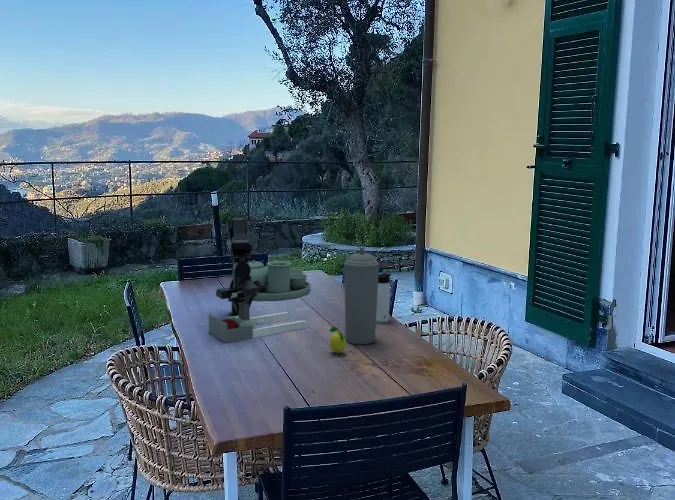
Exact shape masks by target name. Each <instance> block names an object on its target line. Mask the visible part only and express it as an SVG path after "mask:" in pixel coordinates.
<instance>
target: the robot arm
mask: <svg viewBox="0 0 675 500" xmlns="http://www.w3.org/2000/svg"><path fill="white" fill-rule="evenodd" d="M248 232H249V221H248V220H246V219H245V217H243V216H238V217H235V216H234V217H232V218H231V219H230V220H227V222H226V233H228V237H229V239H230V241H231V242H230V244H229V245H230V260H232V274H231V276H232V277H233V278H232V280H231V279H230V282H229V283H230V287H229V286H228V287H221V288H217V289H216V291H215V296H216V297H217V298H218V299H221V300H226V299H227V300H228V303H230V304H231V305H230V306H231V311H229V312H228V314H229V315H231V317H233V316H239V303H240V302H246V303H248V304H249V310H250V309H251V305H252V302H253V301H254V300H253V298H254V297H255V296H257V295H258V294H257V293H256V291H259V292H260V293H264V292H267V286H266V285H265V284H263V283H261V282H260V281H259V280H258V281H252V280H251V275H250V272H251V268H250V265H249V262H250V260H252V259H253V257H254V256H255V255H254V245H253V243H252V242H251V241H250V237H249V236H248V235H247V233H248Z"/></svg>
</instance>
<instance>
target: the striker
mask: <svg viewBox="0 0 675 500" xmlns="http://www.w3.org/2000/svg"><path fill="white" fill-rule="evenodd" d="M228 318H229V319H231V320H234V321H235V322H237V323H238V325H239V326H238V328H241V327H246V326H253V329H256V326H260V325H264V320H259V321H254V320H252V319H250V318H251V317H250V309H249V304H248V303H246V302H240V303H239V316H229V317H228Z"/></svg>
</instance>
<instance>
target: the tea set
mask: <svg viewBox="0 0 675 500" xmlns="http://www.w3.org/2000/svg"><path fill="white" fill-rule="evenodd" d="M249 265H250V268H251V272H250V275H251V280H252V281H258V280H259V281H260V282H261V283H263V284H265V285H266V286H267V292H264V293H260V292H259V291H256V293H257V294H258V295H257V296H255V297H254V298H253V300H252V301H271V302H272V301H275V302H276V301H282V300H283V301H284V300H291V299H296V298H299V297H302V296H305V295H307V294H308V293H309V291H310V289H311V283H310V282H308V281H307V278H308V275H307V274H306V273H304V270H302V269H300V268H299V269H298V268H291V265H292V262H289V261H287V260H286V261H284V260H273V261H268V262H266V265H265V266H264V263H263V262H261V261H256V260H254V259H253V260H252V261H249ZM230 278H231V279H230V281H231V280H232V278H233V277H232V275H231V276H230ZM228 287H230V282H229V283H228Z"/></svg>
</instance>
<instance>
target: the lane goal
mask: <svg viewBox="0 0 675 500" xmlns="http://www.w3.org/2000/svg"><path fill="white" fill-rule="evenodd" d="M249 318H250V319H252V320H254V321H259V320H264V324H265V325H266V324H270V323H275V322H276V323H277V322H282V321H288V320H289V312H288V311H284V312H279V313H273V314H267V315H260V316H259V315H258V316H254V317H249ZM228 319H229V317H224V318H218V317H217V316H215V315H213V314H212V313H210V314H208V333H209V332H210V334H211V335H212V334H213V335H212V336H214V337H215V336H216V337H215V338H217V339H218V338H219V339H218V340H220V341H221V340H222V341H221V342H223V343H224V342H225V343H224V344H227V343H233V342H238V341H239V342H240V341H243V340H244V341H245V340H249V339H250V340H251V339H254V338H255V339H256V338H259V337H266V336H270V335H277V334H282V333H289V332H293V331H299V330H303V329H307V321H306V320H305V319H304V320H299V321H293V322H287V323H282V324H276V325H270V326H264V327H259V328H255V329H253V326H246V327H241V328H235V329H229V330H228V326H227V323H225V322H224V321H226V320H228ZM264 324H263V325H264Z"/></svg>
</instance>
